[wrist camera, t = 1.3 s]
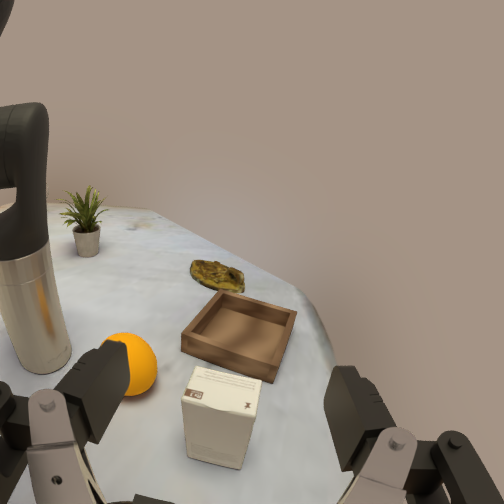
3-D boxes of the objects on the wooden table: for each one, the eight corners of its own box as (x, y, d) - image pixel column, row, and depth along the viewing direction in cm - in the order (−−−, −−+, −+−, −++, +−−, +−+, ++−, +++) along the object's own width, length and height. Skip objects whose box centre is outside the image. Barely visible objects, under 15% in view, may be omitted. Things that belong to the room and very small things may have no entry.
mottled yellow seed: (177, 275, 62) (229, 305, 55) (175, 257, 60) (230, 285, 53) (205, 259, 69) (257, 284, 62) (205, 242, 67) (259, 265, 60)
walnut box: (181, 351, 40) (181, 333, 39) (218, 305, 53) (220, 288, 51) (272, 383, 37) (278, 366, 36) (292, 328, 49) (297, 311, 48)
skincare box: (247, 441, 28) (266, 376, 23) (240, 472, 24) (260, 417, 19) (194, 428, 28) (196, 360, 24) (183, 459, 24) (179, 398, 19)
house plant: (62, 241, 65) (59, 180, 58) (110, 237, 71) (110, 177, 65) (57, 266, 54) (50, 194, 47) (114, 261, 60) (112, 190, 54)
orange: (165, 400, 31) (162, 360, 28) (105, 408, 28) (91, 368, 25) (152, 357, 38) (149, 316, 35) (99, 363, 34) (89, 321, 31)
